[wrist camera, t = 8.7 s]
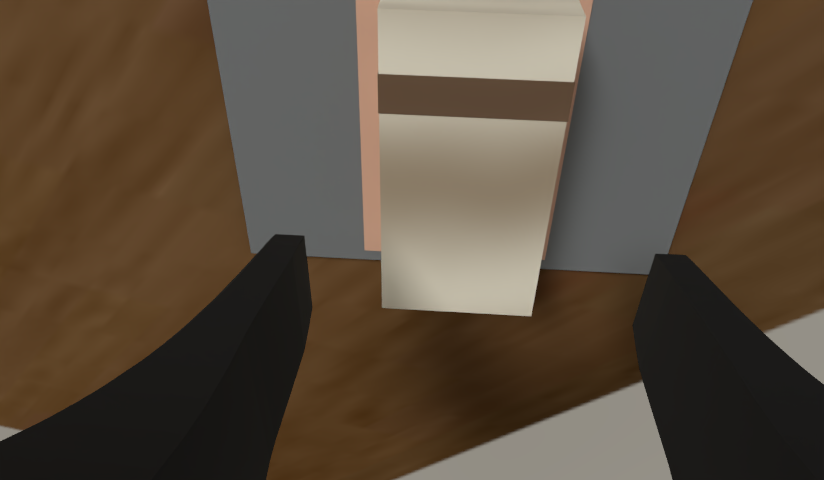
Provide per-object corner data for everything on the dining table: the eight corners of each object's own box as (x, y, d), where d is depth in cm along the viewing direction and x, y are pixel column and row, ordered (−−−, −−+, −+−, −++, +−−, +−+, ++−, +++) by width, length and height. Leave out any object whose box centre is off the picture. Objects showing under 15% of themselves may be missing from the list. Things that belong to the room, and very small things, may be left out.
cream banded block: (522, 234, 23) (531, 316, 19) (392, 228, 23) (381, 308, 20) (564, -36, 17) (586, 17, 14) (392, -42, 17) (376, 8, 14)
